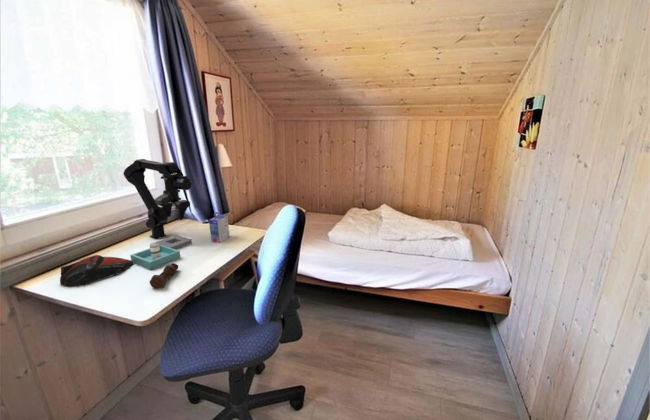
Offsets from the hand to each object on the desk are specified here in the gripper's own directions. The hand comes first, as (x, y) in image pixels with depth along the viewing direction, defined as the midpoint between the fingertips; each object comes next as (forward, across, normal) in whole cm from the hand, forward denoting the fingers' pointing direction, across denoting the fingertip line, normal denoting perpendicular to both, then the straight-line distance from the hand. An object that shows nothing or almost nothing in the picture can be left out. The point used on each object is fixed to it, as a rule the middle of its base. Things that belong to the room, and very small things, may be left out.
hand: (175, 218), depth 159 cm
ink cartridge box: (+12, +17, +13) cm, 25 cm away
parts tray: (+12, +13, -20) cm, 27 cm away
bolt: (+12, +32, -28) cm, 44 cm away
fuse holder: (+12, +4, -5) cm, 14 cm away
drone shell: (+12, +5, -40) cm, 42 cm away
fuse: (+11, +13, -20) cm, 26 cm away
